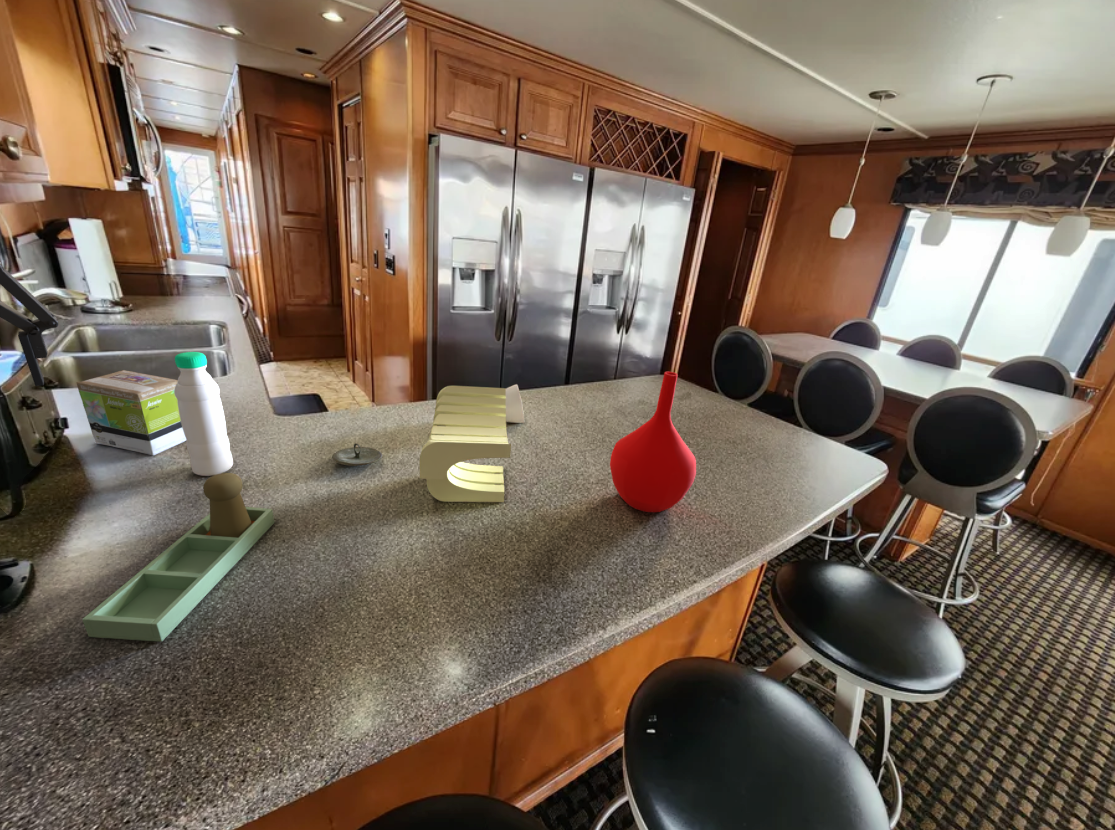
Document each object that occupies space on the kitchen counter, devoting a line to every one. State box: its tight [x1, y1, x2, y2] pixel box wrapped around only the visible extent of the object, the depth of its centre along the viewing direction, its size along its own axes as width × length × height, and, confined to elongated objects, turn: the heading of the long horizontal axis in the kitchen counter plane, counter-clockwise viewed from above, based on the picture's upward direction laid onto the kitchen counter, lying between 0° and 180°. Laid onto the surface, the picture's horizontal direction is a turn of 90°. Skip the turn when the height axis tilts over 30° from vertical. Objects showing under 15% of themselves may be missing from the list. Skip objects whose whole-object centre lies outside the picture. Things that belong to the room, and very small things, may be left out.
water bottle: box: [174, 351, 234, 477], centre depth 92 cm, size 7×7×25 cm
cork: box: [202, 472, 252, 538], centre depth 76 cm, size 6×6×11 cm
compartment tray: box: [81, 506, 275, 643], centre depth 70 cm, size 9×26×3 cm, turn 1°
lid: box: [331, 443, 383, 467], centre depth 104 cm, size 11×10×5 cm
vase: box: [609, 371, 697, 514], centre depth 97 cm, size 18×18×30 cm
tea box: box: [76, 369, 187, 456], centre depth 101 cm, size 15×10×15 cm
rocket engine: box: [505, 383, 525, 424], centre depth 133 cm, size 12×12×18 cm
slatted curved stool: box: [418, 385, 512, 503], centre depth 97 cm, size 30×16×18 cm, turn 8°
